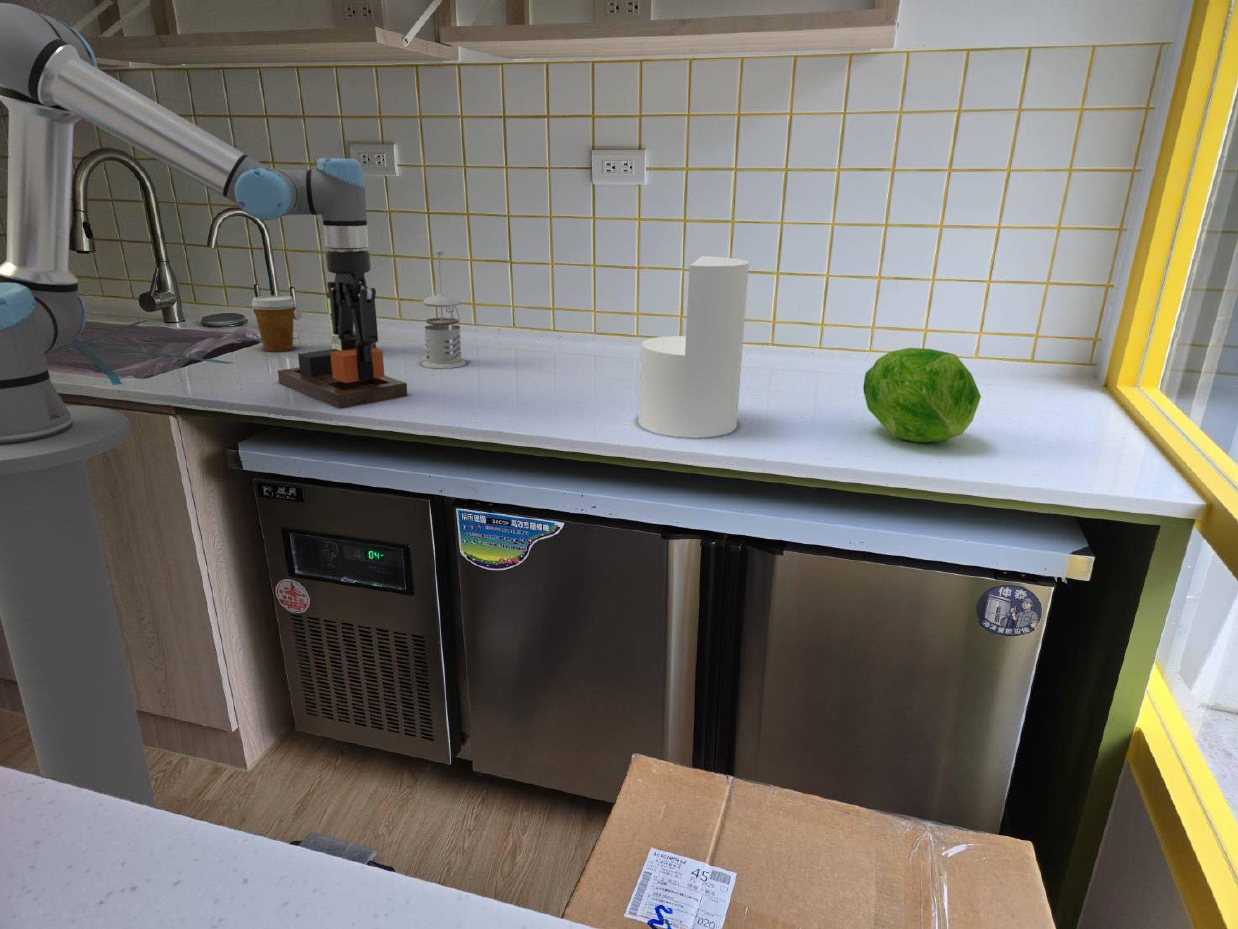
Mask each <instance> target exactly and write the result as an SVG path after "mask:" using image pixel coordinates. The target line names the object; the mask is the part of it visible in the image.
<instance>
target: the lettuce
mask: <svg viewBox="0 0 1238 929" xmlns="http://www.w3.org/2000/svg"><path fill="white" fill-rule="evenodd" d="M974 379H975V378H974V376H973V374H972V373H971V372H970V370H969V369H968V368H967V366H965V364H964V363H963V362H962V361H961V359H960V358H959V357H958V355H956V353H951V352H947V351H942V350H938V349H932V348H921V347H920V348H919V347H907V348H902V349H897V350H893V351H889V352H888V353H886V354H883V355H882V356H880V357H878V358H877V359H876V361H875V362H874V364H873V365H872V366H871V368H869V369H867V370H866V372H865V374H864V380H863V387H862V388H863V389H862V390H863V395H864V399H865V403H866V406H867V410H868V411H869V412H870V414H872V415H873V416H874V418H876V419H877V421H879V422H880V424H881V425H882V426H883V427H884V428H885V429H886V430H888V432H889V433H891V435H893V436H894V438H896V439H900V440H905V441H909V442H915V443H930V442H931V443H932V442H943V441H946V440H950V439H953V438H956V437H958V436H962V435H963V433H964V432H965V431H966V430H967V429H968V427H969V426H970V425H971V423H972V422H973V421H974V419H975V415H976V413H977V409H978V407H979V404H980V401H981V398H982V396H981V393H980V391H979V389H978V385H977V384H976V381H975V380H974Z"/></svg>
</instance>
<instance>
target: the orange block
mask: <svg viewBox="0 0 1238 929" xmlns="http://www.w3.org/2000/svg"><path fill="white" fill-rule="evenodd" d="M371 349H372V361H373V373H374V378H379V377H384V376H386V375H385V365H384V364H385V363H384V352H383V350H381V349H378V348H376V349H375V348H372V347H371ZM330 354H331V364H332V374H333V379H336V380H339V381H341V382H344V383H350V382H356V381H362V380H359V376H358V365H357V354H356V349H349V350H342V351H335V352H330ZM372 379H373V378H372ZM366 380H367V379H366Z"/></svg>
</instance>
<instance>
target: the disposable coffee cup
mask: <svg viewBox="0 0 1238 929" xmlns="http://www.w3.org/2000/svg"><path fill="white" fill-rule="evenodd" d="M250 305H251V307H252V309H253V310H254V314H255V319H256V322H257V326H258V330H259V334H260V338H261V341H262V346H263V349H264V351H266V352H271V353H272V352H273V353H274V352H276V353H277V352H287V351H291V350H293V348H294V314H295V312H294V311H295V310H294V308H295V305H296V302H295V301H294V298H293V297H292V296H291V295H263V296H261V295H260V296H256V297H253V298H252V303H251V304H250Z"/></svg>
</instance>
